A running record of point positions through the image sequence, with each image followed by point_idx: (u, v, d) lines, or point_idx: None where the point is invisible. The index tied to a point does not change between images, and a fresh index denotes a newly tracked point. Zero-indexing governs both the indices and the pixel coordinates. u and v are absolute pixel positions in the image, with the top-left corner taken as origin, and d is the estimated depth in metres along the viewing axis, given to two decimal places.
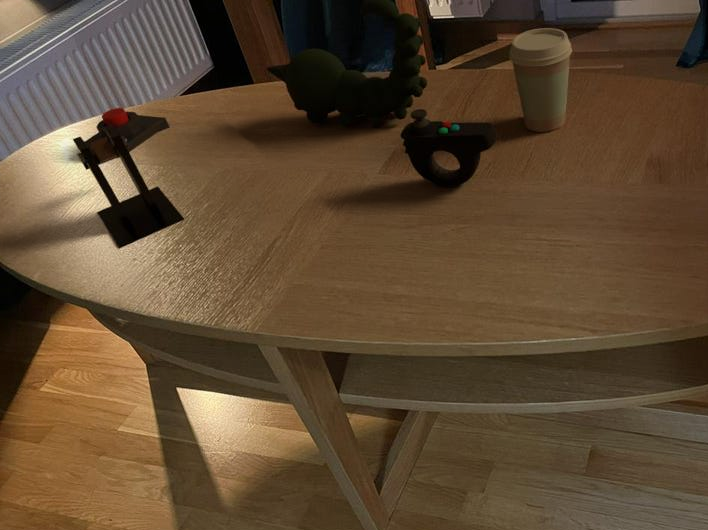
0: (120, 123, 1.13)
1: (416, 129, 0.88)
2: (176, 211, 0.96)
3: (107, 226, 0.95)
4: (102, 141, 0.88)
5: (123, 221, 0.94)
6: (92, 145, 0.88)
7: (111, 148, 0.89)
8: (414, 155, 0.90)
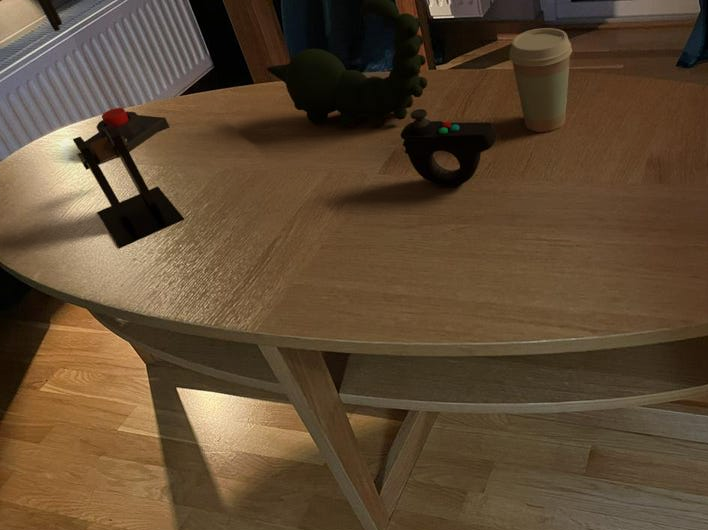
0: (120, 123, 1.13)
1: (416, 129, 0.88)
2: (176, 211, 0.96)
3: (107, 226, 0.95)
4: (102, 141, 0.88)
5: (123, 221, 0.94)
6: (92, 145, 0.88)
7: (111, 148, 0.89)
8: (414, 155, 0.90)
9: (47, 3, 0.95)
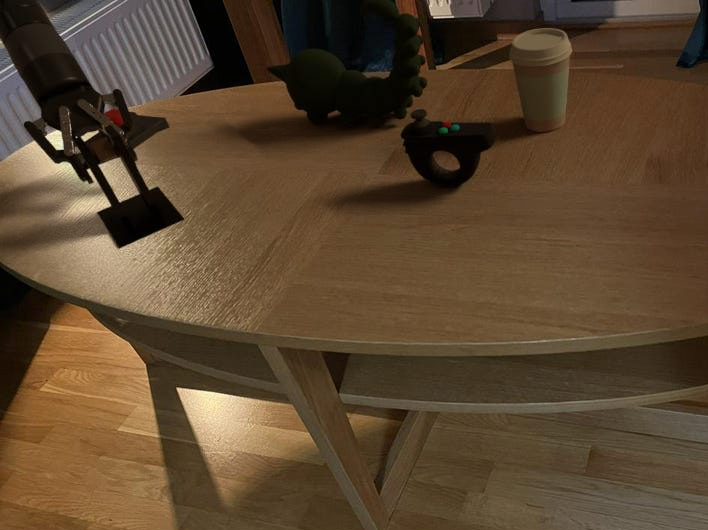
0: (120, 123, 1.13)
1: (416, 129, 0.88)
2: (176, 211, 0.96)
3: (107, 226, 0.95)
4: (102, 141, 0.88)
5: (123, 221, 0.94)
6: (92, 145, 0.88)
7: (111, 148, 0.89)
8: (414, 155, 0.90)
9: None
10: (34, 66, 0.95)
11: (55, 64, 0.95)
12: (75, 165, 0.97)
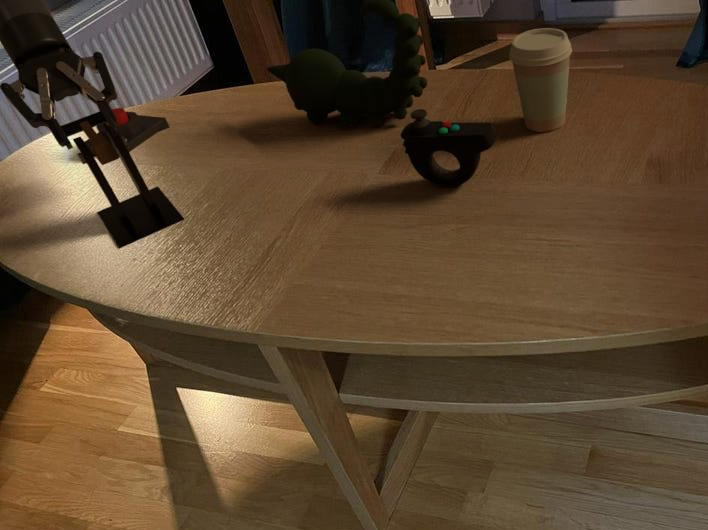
0: (120, 123, 1.13)
1: (416, 129, 0.88)
2: (176, 211, 0.96)
3: (107, 226, 0.95)
4: (105, 146, 0.88)
5: (123, 221, 0.94)
6: (95, 150, 0.88)
7: (113, 152, 0.89)
8: (414, 155, 0.90)
9: (105, 107, 0.97)
10: (11, 26, 0.92)
11: (33, 24, 0.93)
12: (54, 129, 0.94)
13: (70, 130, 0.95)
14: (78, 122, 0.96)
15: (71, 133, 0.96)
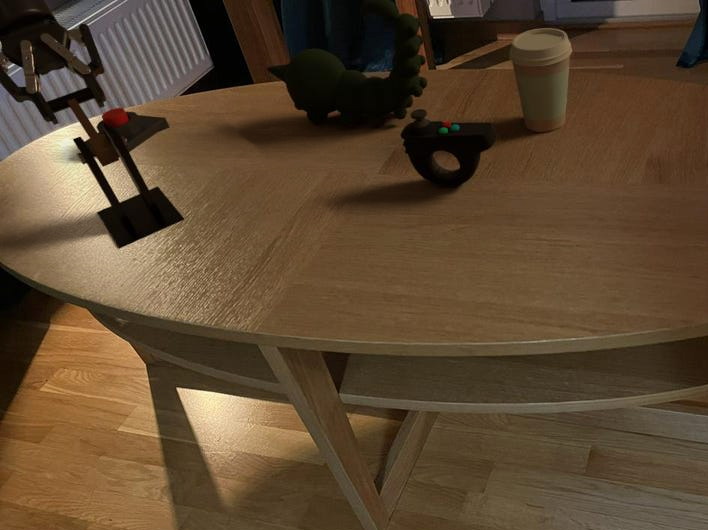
0: (120, 123, 1.13)
1: (416, 129, 0.88)
2: (176, 211, 0.96)
3: (107, 226, 0.95)
4: (107, 150, 0.89)
5: (123, 221, 0.94)
6: (97, 154, 0.88)
7: (115, 155, 0.90)
8: (414, 155, 0.90)
9: (92, 80, 0.94)
10: None
11: None
12: (38, 103, 0.91)
13: (57, 108, 0.93)
14: (66, 100, 0.93)
15: (58, 110, 0.93)
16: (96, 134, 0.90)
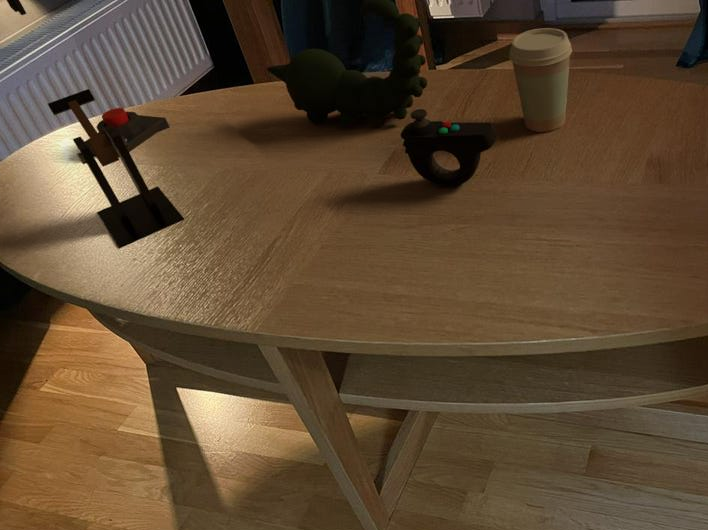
0: (120, 123, 1.13)
1: (416, 129, 0.88)
2: (176, 211, 0.96)
3: (107, 226, 0.95)
4: (107, 150, 0.89)
5: (123, 221, 0.94)
6: (97, 154, 0.88)
7: (115, 155, 0.90)
8: (414, 155, 0.90)
9: None
10: None
11: None
12: None
13: (58, 110, 0.93)
14: (67, 101, 0.93)
15: (59, 112, 0.93)
16: (96, 134, 0.90)
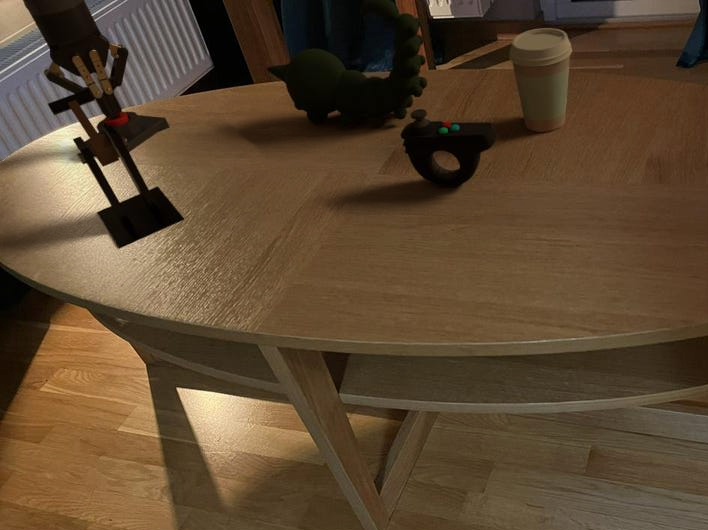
0: None
1: (416, 129, 0.88)
2: (176, 211, 0.96)
3: (107, 226, 0.95)
4: (107, 150, 0.89)
5: (123, 221, 0.94)
6: (97, 154, 0.88)
7: (115, 155, 0.90)
8: (414, 155, 0.90)
9: (112, 98, 1.11)
10: (53, 20, 0.99)
11: (74, 21, 1.00)
12: (102, 105, 1.11)
13: (58, 110, 0.93)
14: (67, 101, 0.93)
15: (59, 112, 0.93)
16: (96, 134, 0.90)
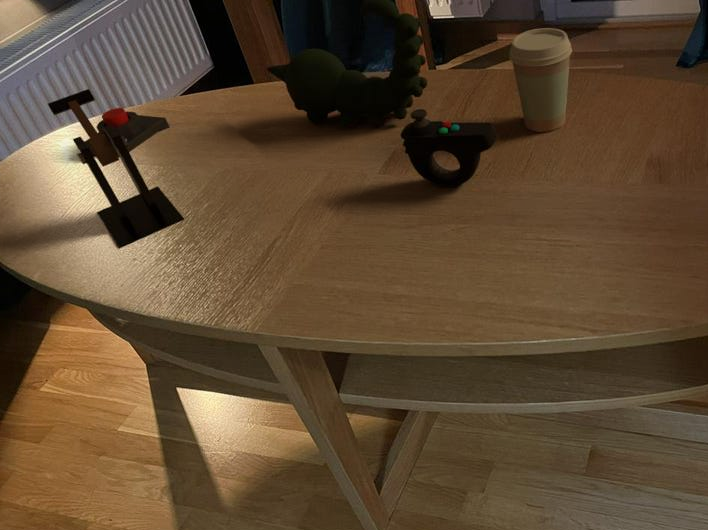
0: (120, 123, 1.13)
1: (416, 129, 0.88)
2: (176, 211, 0.96)
3: (107, 226, 0.95)
4: (107, 150, 0.89)
5: (123, 221, 0.94)
6: (97, 154, 0.88)
7: (115, 155, 0.90)
8: (414, 155, 0.90)
9: None
10: None
11: None
12: None
13: (58, 110, 0.93)
14: (67, 101, 0.93)
15: (59, 112, 0.93)
16: (96, 134, 0.90)
